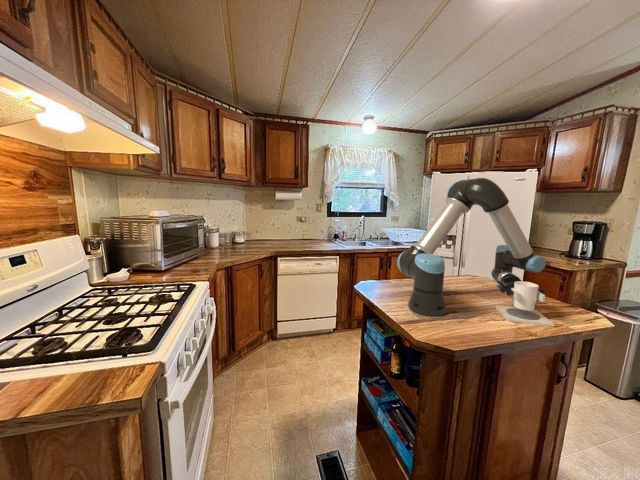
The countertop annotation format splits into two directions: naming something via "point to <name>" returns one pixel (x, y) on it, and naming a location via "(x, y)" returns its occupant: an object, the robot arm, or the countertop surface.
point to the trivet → (524, 316)
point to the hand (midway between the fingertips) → (530, 297)
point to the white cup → (526, 295)
